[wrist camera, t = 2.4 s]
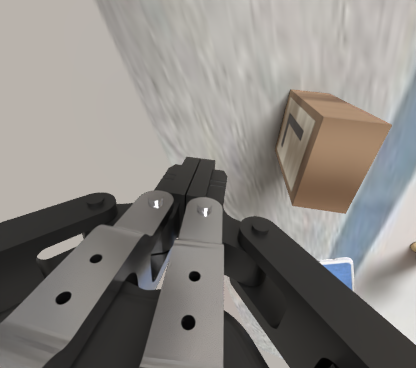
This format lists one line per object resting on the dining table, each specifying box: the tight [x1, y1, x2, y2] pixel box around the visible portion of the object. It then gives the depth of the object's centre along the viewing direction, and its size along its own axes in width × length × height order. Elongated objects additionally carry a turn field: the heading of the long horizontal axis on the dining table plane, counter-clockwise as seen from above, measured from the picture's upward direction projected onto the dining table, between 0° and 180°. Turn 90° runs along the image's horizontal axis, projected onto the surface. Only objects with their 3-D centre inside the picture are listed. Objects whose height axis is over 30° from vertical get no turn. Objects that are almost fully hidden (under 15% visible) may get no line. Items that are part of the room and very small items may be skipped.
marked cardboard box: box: [275, 90, 392, 214], centre depth 18 cm, size 6×4×10 cm, turn 175°
